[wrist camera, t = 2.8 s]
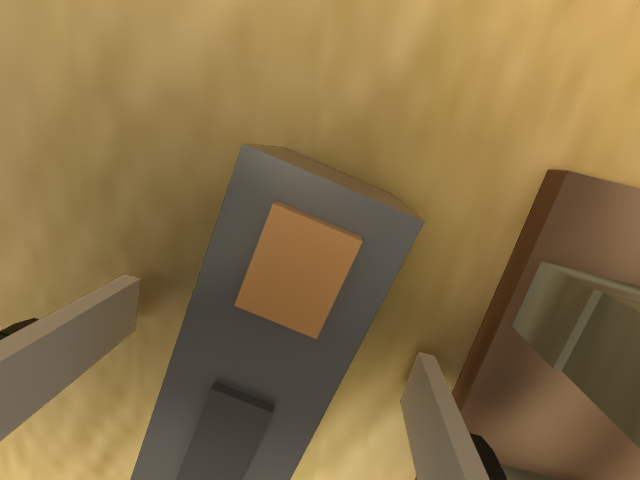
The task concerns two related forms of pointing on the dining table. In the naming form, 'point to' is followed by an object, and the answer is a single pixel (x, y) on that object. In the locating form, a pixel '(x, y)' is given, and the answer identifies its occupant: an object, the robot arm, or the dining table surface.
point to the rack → (563, 340)
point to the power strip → (273, 318)
